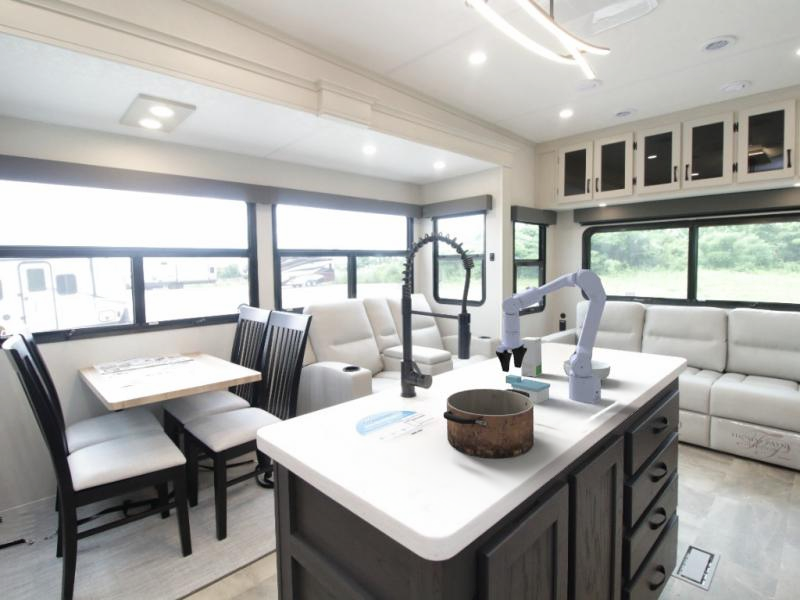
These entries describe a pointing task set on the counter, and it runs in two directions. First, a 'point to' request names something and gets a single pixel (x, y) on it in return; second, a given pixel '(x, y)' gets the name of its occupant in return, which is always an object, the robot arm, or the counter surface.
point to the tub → (536, 395)
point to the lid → (526, 383)
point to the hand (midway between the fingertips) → (511, 369)
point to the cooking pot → (490, 422)
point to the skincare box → (532, 357)
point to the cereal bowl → (593, 369)
